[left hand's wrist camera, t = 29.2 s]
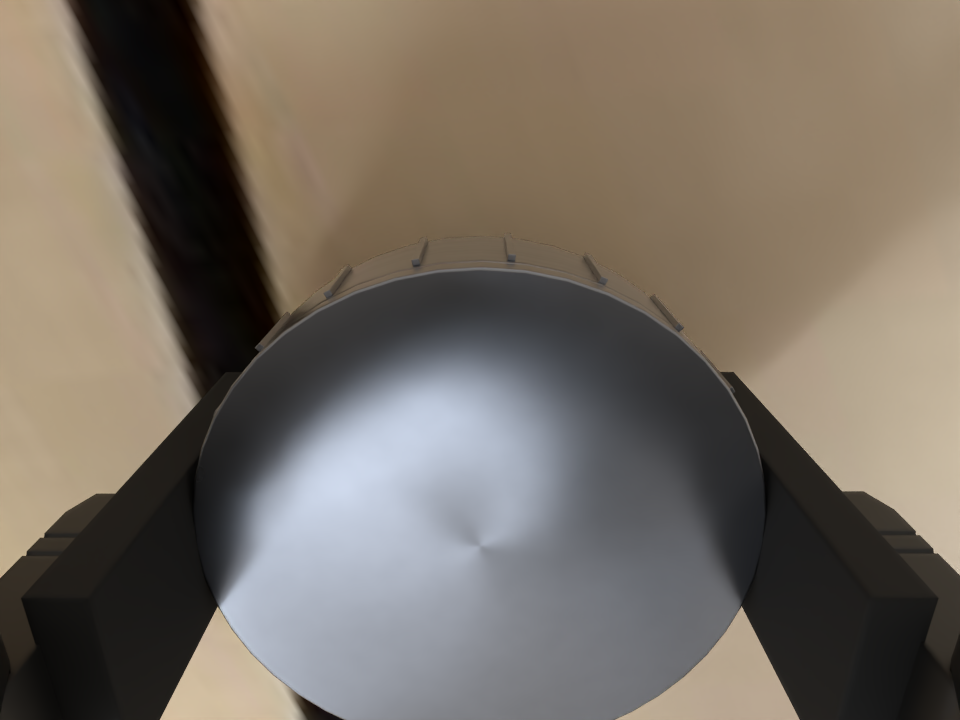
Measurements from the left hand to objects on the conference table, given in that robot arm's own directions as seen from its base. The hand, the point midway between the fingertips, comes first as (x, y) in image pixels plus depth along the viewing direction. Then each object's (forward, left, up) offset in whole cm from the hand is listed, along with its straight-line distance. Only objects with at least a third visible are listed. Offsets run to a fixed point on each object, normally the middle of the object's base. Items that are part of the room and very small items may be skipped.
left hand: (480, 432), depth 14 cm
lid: (0, 0, +3) cm, 3 cm away
